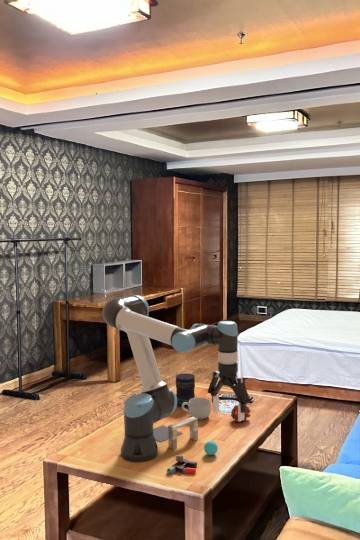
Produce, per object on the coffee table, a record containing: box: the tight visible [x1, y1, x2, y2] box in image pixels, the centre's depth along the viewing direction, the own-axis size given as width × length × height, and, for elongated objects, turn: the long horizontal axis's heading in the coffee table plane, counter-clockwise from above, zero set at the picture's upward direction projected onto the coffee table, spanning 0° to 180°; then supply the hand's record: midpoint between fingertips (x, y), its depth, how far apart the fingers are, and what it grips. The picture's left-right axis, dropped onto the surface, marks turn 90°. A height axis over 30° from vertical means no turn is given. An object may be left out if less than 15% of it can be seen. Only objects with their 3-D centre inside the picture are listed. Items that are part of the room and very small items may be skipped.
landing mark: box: [153, 425, 183, 443], centre depth 239 cm, size 13×13×1 cm
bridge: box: [167, 416, 199, 450], centre depth 228 cm, size 3×14×9 cm, turn 133°
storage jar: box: [175, 373, 196, 409], centre depth 274 cm, size 10×10×15 cm
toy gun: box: [166, 454, 198, 475], centre depth 203 cm, size 10×12×5 cm
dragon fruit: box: [230, 403, 251, 423], centre depth 252 cm, size 8×8×12 cm
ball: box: [203, 440, 219, 456], centre depth 217 cm, size 6×6×6 cm
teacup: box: [181, 396, 212, 420], centre depth 257 cm, size 14×11×8 cm
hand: (228, 415), depth 208 cm, fingers open, 12 cm apart
